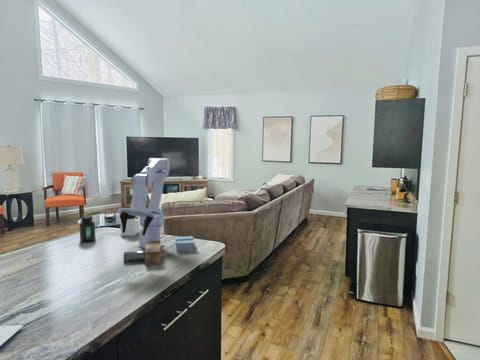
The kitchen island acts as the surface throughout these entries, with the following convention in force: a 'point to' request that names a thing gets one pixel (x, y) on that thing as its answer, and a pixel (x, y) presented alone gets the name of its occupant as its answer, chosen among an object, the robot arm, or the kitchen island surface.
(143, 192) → the robot arm
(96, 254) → the kitchen island surface
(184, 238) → the v block
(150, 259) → the beam
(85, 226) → the supplement bottle
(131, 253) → the axle
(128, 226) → the medicine bottle
